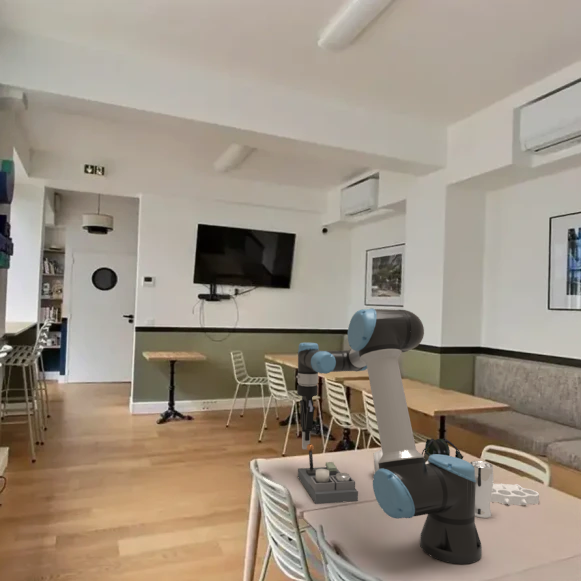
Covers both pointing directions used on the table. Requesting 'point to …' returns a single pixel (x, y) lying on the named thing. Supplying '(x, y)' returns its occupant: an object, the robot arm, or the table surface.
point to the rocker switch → (331, 466)
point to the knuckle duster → (513, 495)
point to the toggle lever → (310, 455)
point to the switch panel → (327, 487)
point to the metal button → (342, 477)
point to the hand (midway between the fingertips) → (306, 448)
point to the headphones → (439, 448)
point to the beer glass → (483, 488)
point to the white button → (322, 475)
